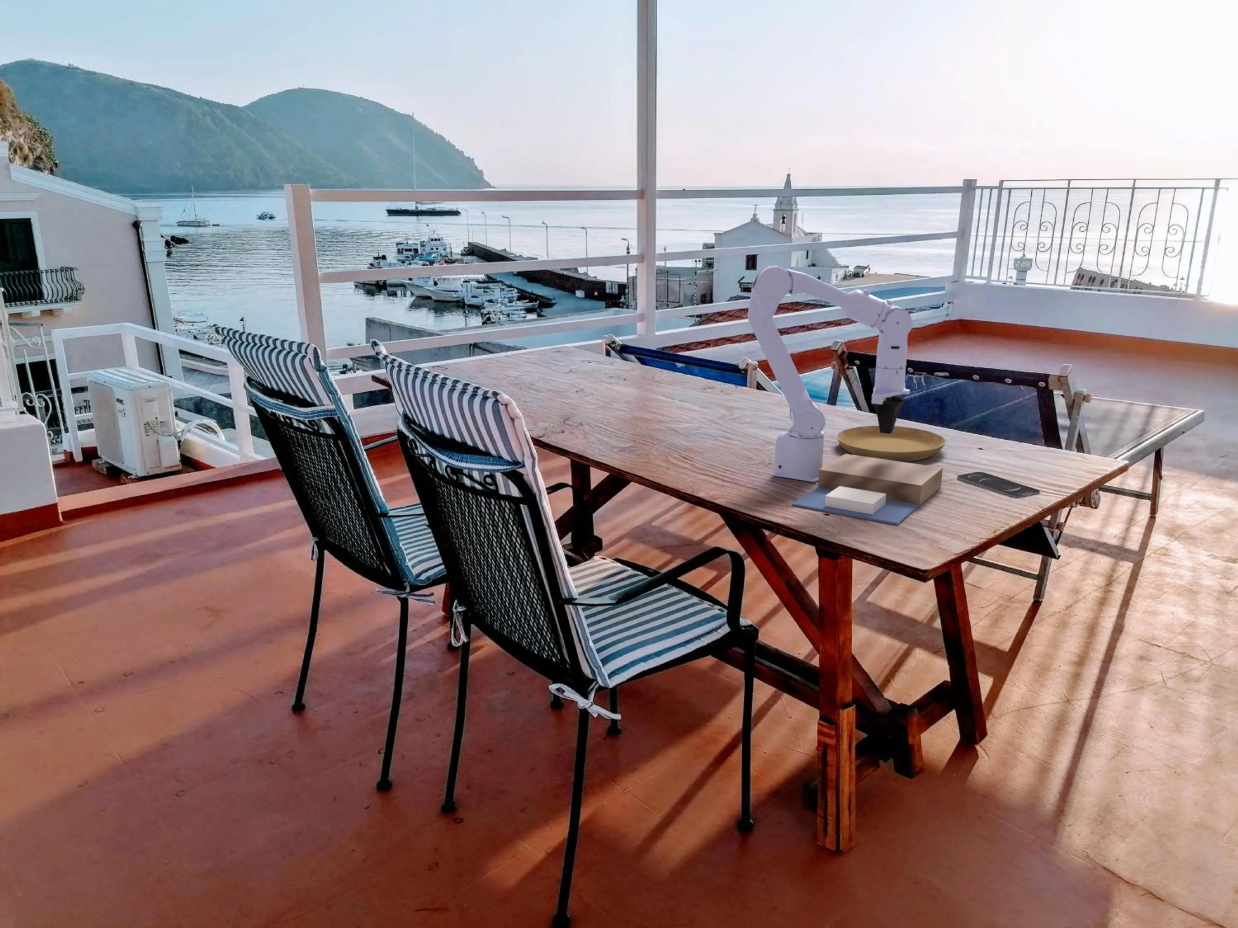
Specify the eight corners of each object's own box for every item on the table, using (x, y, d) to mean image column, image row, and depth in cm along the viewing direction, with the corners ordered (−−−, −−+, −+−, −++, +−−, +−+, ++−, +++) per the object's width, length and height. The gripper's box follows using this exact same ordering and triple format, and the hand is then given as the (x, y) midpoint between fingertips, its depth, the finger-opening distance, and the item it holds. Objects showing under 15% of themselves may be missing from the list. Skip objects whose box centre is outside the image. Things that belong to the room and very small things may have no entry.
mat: (791, 505, 158) (791, 503, 158) (817, 489, 167) (817, 487, 167) (897, 525, 146) (898, 523, 146) (918, 506, 156) (918, 504, 156)
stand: (818, 488, 167) (818, 469, 166) (844, 471, 178) (845, 453, 177) (919, 505, 156) (921, 485, 155) (940, 487, 167) (942, 467, 166)
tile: (839, 486, 161) (839, 496, 161) (825, 495, 155) (824, 505, 156) (886, 493, 156) (885, 504, 156) (873, 503, 150) (872, 514, 151)
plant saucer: (880, 470, 180) (882, 455, 179) (815, 445, 202) (816, 431, 201) (968, 457, 189) (969, 443, 188) (896, 434, 210) (897, 421, 209)
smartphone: (1016, 496, 159) (954, 476, 172) (1015, 501, 160) (954, 480, 172) (1043, 491, 162) (980, 471, 175) (1042, 495, 163) (980, 475, 176)
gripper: (899, 373, 160) (894, 442, 164) (921, 363, 172) (916, 428, 175) (863, 370, 164) (858, 438, 168) (887, 360, 176) (883, 424, 179)
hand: (886, 432), depth 172 cm, fingers closed
